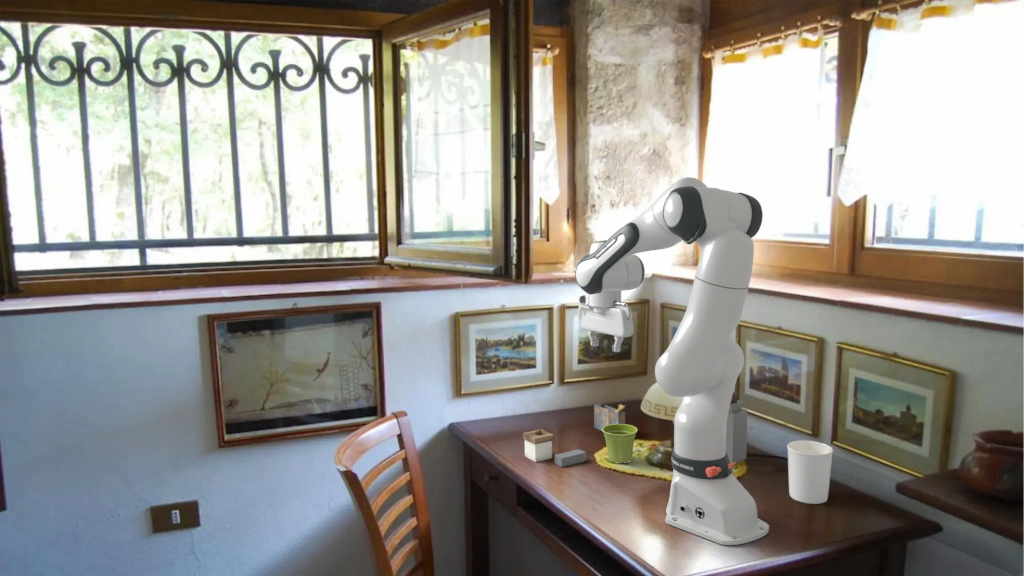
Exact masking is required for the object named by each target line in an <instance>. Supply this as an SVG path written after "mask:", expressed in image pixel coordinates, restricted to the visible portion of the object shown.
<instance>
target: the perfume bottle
mask: <svg viewBox="0 0 1024 576" xmlns="http://www.w3.org/2000/svg"><path fill="white" fill-rule="evenodd" d="M738 396H739V393H738V392H734V391H733V395H732V399H731V403H730V407H729V411H728V417H727V430H726V453H727V454H728V457H729V461H730V463H733V462H736V464H738V463H740V462H742V461H744V460H746V459H747V448H748V447H747V444H748V441H747V440H748V439H747V438H748V409H747V408H746V409H745V408H743V405H744V401H743V400H739V399H738Z"/></svg>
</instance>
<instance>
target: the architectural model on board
mask: <svg viewBox="0 0 1024 576" xmlns="http://www.w3.org/2000/svg"><path fill="white" fill-rule="evenodd" d="M625 407H626V404H625V405H623V404H622V403H620V404H618V407H617V408H614V407H611V406H609V405H606V404H605V405H604V406H603V407H602V403H597V404H596V403H595V404H594V405H593V424H594V425H593V428H594V429H596V428H597V430H599V431H602V428H603V427H604V426H606V425H611V424H626V412H625V411H623V410H624V409H625ZM602 432H603V431H602Z"/></svg>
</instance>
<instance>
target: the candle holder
mask: <svg viewBox="0 0 1024 576" xmlns="http://www.w3.org/2000/svg"><path fill="white" fill-rule="evenodd" d="M786 448H787V449H786V450H787V469H788V471H787V473H788V493H789V497H790V498H791V499H793V500H795V501H796V502H800V503H802V504H803V503H804V504H810V505H818V504H823V503H826V502H827V501H828V498H829V491H830V482H831V470H832V462H833V460H832V459H833V454H834V449H833V448H832V446H830V445H828V444H826V443H822V442H819V441H816V440H815V441H814V440H805V439H804V440H794V441H790V442H788V443H787V445H786Z"/></svg>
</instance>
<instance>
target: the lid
mask: <svg viewBox="0 0 1024 576" xmlns="http://www.w3.org/2000/svg"><path fill="white" fill-rule="evenodd" d="M522 439H523V440H524V441H525V440H527V441H529V442H531V443H533V444H535V445H536V444H540V443H545V442H549V441H552V442H553V441H555V439H554V434H553V433H551V432H549V431H546V430H544V429H542V428H541V429H538V428H537V429H534V430H531V431H525V432H522Z"/></svg>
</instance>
